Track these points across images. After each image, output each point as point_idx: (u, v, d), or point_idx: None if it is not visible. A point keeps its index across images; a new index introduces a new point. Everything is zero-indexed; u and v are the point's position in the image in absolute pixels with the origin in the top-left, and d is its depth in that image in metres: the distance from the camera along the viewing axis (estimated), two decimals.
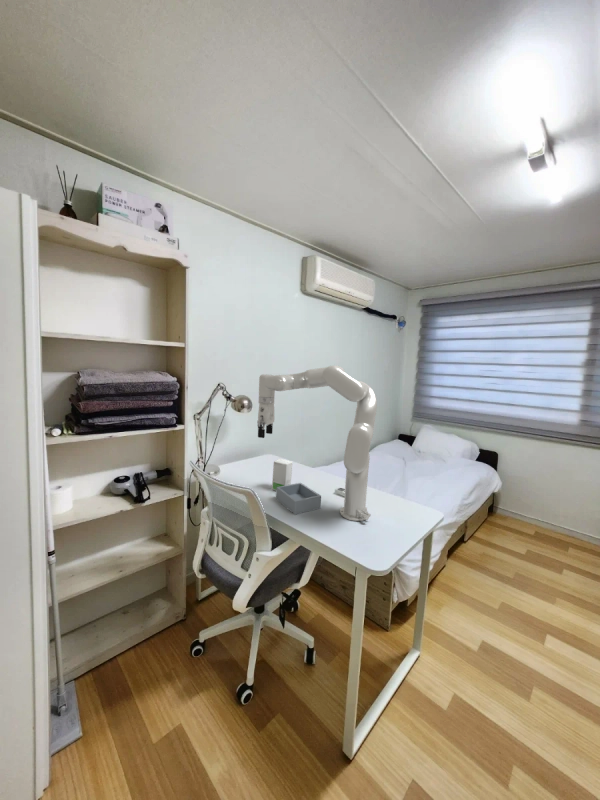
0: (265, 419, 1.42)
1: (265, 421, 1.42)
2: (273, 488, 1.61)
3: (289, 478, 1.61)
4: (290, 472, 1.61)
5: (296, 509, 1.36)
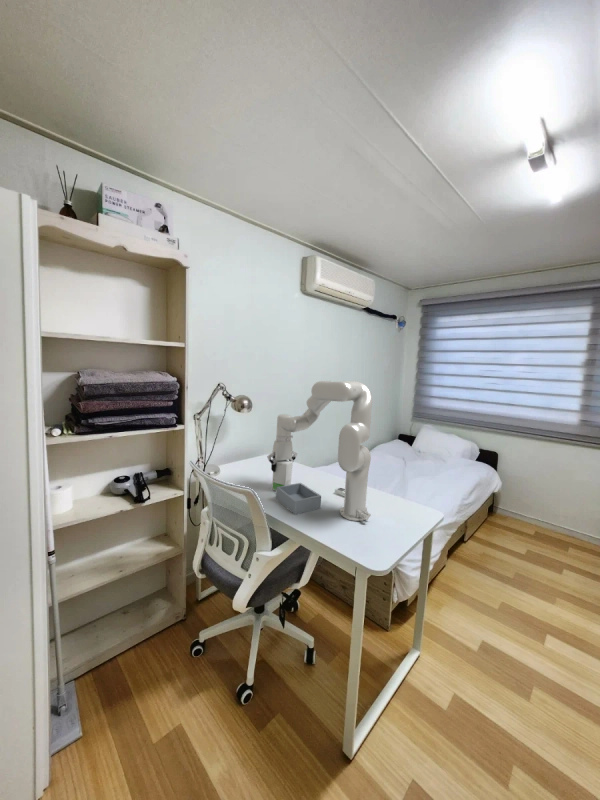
0: None
1: None
2: (273, 488, 1.61)
3: (289, 478, 1.61)
4: (290, 472, 1.61)
5: (296, 509, 1.36)
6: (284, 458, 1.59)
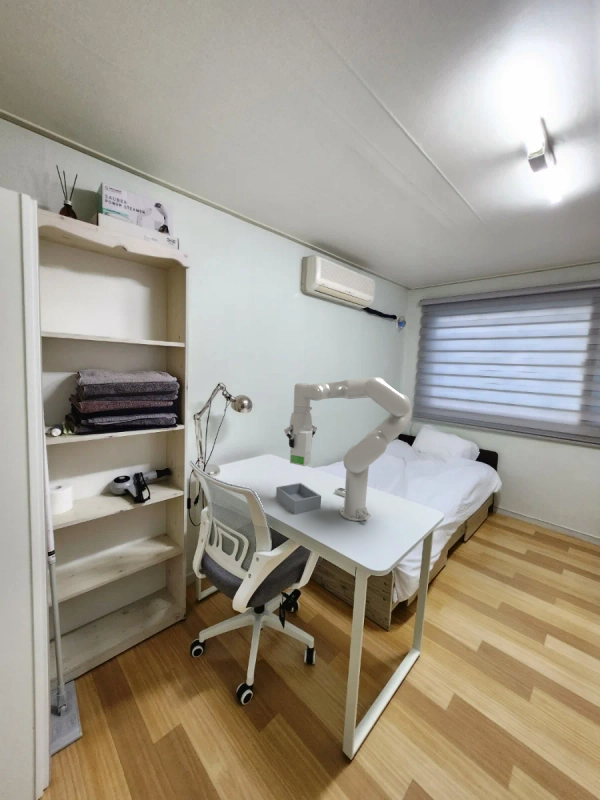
0: None
1: None
2: (291, 461, 1.43)
3: (309, 450, 1.43)
4: (310, 443, 1.43)
5: (296, 509, 1.36)
6: None
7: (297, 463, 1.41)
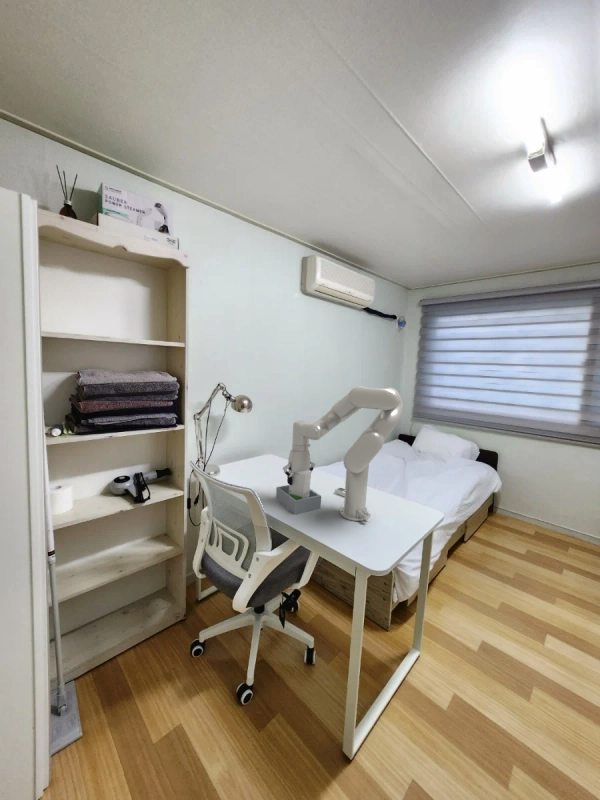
0: None
1: None
2: None
3: (308, 489, 1.45)
4: (309, 482, 1.44)
5: (296, 509, 1.36)
6: (301, 469, 1.43)
7: None
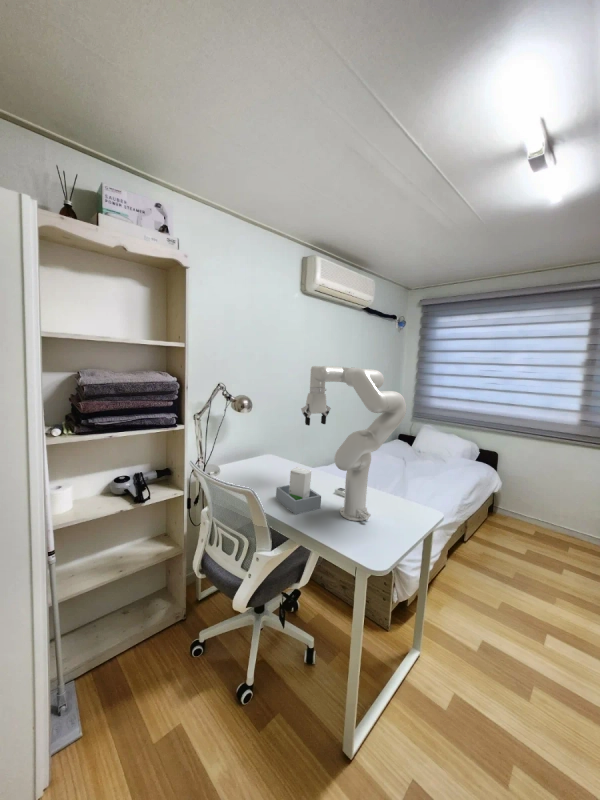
0: None
1: None
2: None
3: (308, 489, 1.45)
4: (309, 482, 1.44)
5: (296, 509, 1.36)
6: (318, 411, 1.53)
7: None
